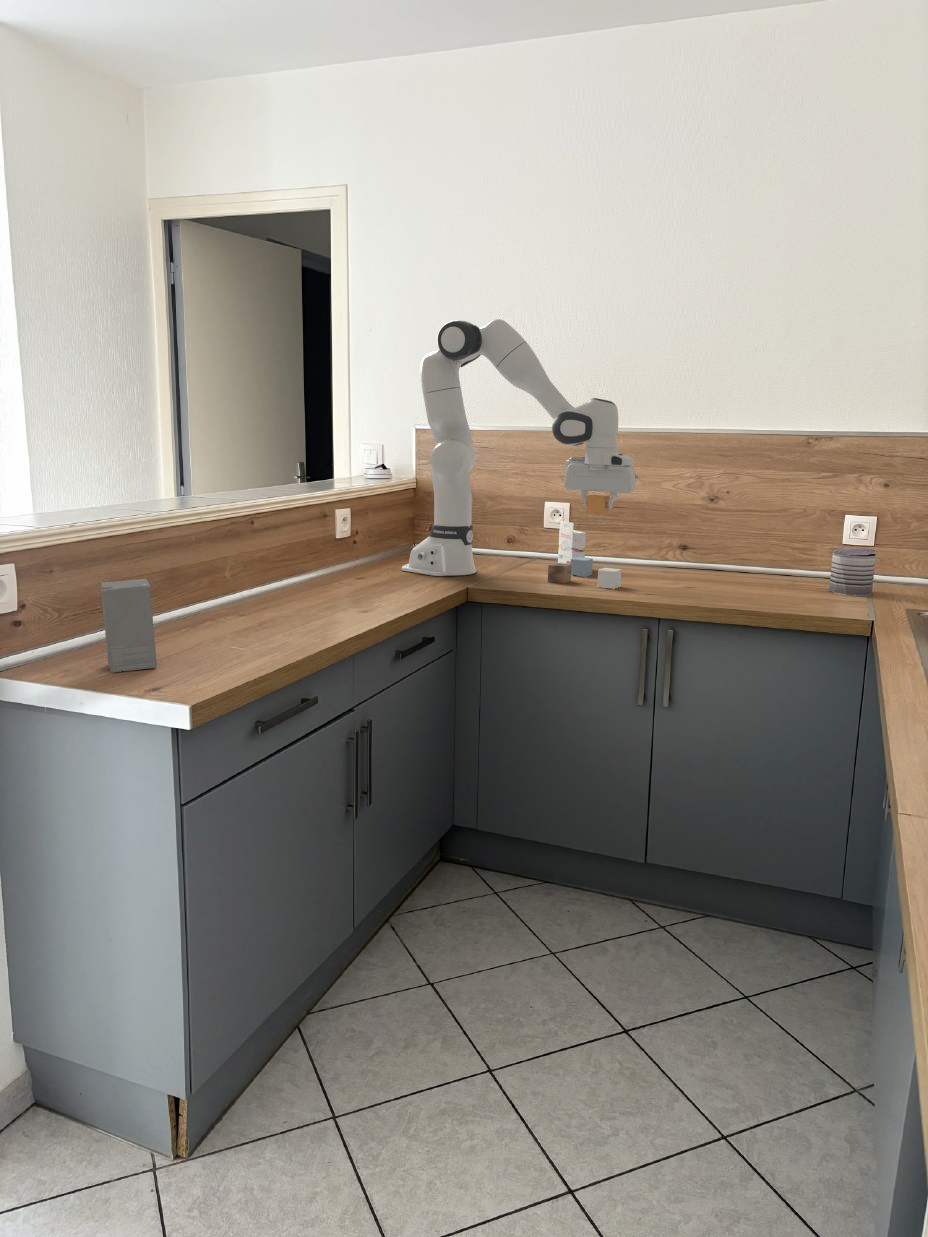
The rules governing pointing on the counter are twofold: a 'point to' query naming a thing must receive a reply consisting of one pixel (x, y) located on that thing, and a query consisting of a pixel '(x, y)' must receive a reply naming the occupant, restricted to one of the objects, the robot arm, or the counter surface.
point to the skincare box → (128, 625)
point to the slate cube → (581, 566)
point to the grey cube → (609, 578)
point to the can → (853, 571)
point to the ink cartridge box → (570, 543)
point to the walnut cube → (559, 573)
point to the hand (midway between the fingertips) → (598, 507)
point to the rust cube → (597, 504)
